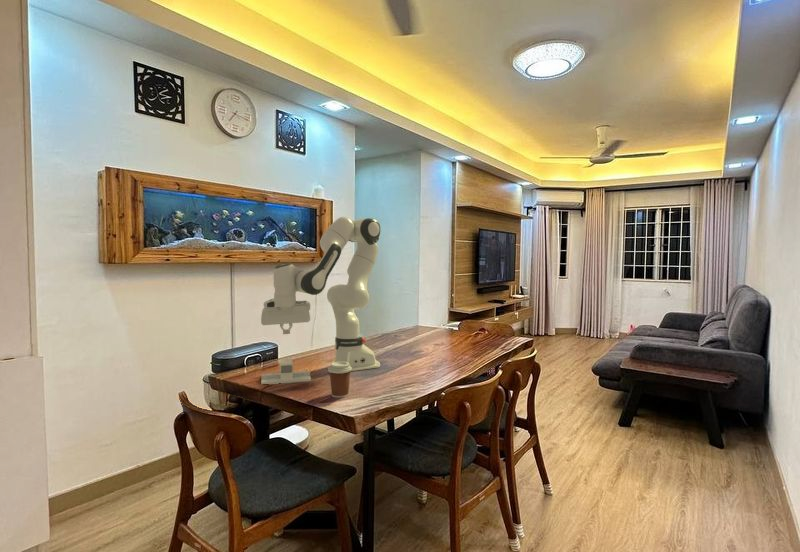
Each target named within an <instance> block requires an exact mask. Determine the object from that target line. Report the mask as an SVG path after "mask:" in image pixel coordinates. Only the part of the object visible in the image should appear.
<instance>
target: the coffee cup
mask: <svg viewBox="0 0 800 552" xmlns="http://www.w3.org/2000/svg"><path fill="white" fill-rule="evenodd" d="M327 371H328V372H329V380H330V391H331V397H333V398H336V399H337V398H340V399H342V398H346V397H348V396H349V393H350V380H351V379H350V376H351V372H353V371H352V367H350V365H349V363H348V362H334V361H333V362H332V363H330V366H329V367H327Z"/></svg>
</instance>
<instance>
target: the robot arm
mask: <svg viewBox="0 0 800 552" xmlns="http://www.w3.org/2000/svg"><path fill="white" fill-rule="evenodd" d="M380 235H381V225H380V223H379V221H377V219H374V218H372V217H369V218H358V219H354V220H351V219H350V218H348V217H346V216H345V217H344V216H340V217H338V218H337V219H336V220H334V221H333V222H332V223H331V224H330V225H329V227H328V228H327V229H326V231H324V232H323V234H322V236H321V238H320V240H319V246H320V248H321V250H322V251H323V252H324V253H323V256H322V258H321V259H320V261H319V263H318V264H317V266H316V267H315V268H314V269H313V268H312V269H311V270H304V269H301V268H299V267H297V266H295V265H294V264H293V263H289V262H287V263H282V264H278V265H276V266H275V267H274V270H273V287H274V294H273V296H274V297H273V298H270V299H268V300H265V301H264V302H263V308H262V310H261V317H260V324H261V325H262V326H271V325H273V326H274V325H279V328H280V329H281V330H282V335H289V334H291V330H292V327H293V324H300V323H309V322H310V321H311V315H310V310H311V303H310V301H307V300H297V299H296V298H297V295H296V294H297V293H296V292H299V293H305V294H308V295H311V296H315V295H319V294H320V293H322V292H323V291H324V290H325V288H326V284H327V281H328V278H329V275H330V274H331V272H332V271H333V269H334V267H335V265H336V264H337V262H338V261H339V259H340V256H341V254H342V251H343V249H344V248H345V246H346V245H347V244H348V242H351V243H356V244H357V245H356V246H357V247H356V250H355V252H354V254H353V256H352V258H351V261H350V263H349V264H348V266H347V269H346V270H347V271H346V273H347V275H348V280H347V283H346V284H335V285H332V286H330V288H328V290H327V294H326V298H327V300H328V303H329V304H330V305H331V307H332V311H333V314H334V318H335V335H336V336H335V339H334V348H335V354H334V355H335V356H334V360H333V362H348V363H349V365H350V367H352V371H351V372H355V371H363V370H369V369H377V368H380V367H381V363H380V361H378V360H377V359H376V356H375V355H376V354H375V353H374V351H373V350H372V349H371V348H370V347H368V346H366V342H367V340H366V338H363V337H362V336H360V319H359V318H358V317H357V315H356V313H355V310H359V309H365V307H367V306H368V305H369V302H370V294H369V292H368V284H369V283H368V282H369V278H370V275H371V274H372V271H373V269H374V266H375V264H376V261H377V258H378V254H379V249H380V248H379V245H378V244H377V242H378V241H379V239H380ZM287 324H288V326H289V327H288V329H287V328H284V325H287Z"/></svg>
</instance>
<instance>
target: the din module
mask: <svg viewBox="0 0 800 552" xmlns="http://www.w3.org/2000/svg"><path fill="white" fill-rule="evenodd" d="M293 364H294V363H293V358H292V357H290V358H289V357H287V358H279V373H280V380H289V379H293V372H294V371H293V370H294V365H293Z"/></svg>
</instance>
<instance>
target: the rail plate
mask: <svg viewBox="0 0 800 552" xmlns="http://www.w3.org/2000/svg"><path fill="white" fill-rule="evenodd" d="M260 380H261V382H260V383H261V386H263V385H262V384H269V385H278V384H279V383H281V384H291V383H292V384H293V383H302V382H303V383H304V382H312V378H311V371H310V370H302V371H301V370H299V371H293V379H289V380H280V372H274V373H273V372H271V373H261V379H260Z"/></svg>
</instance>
